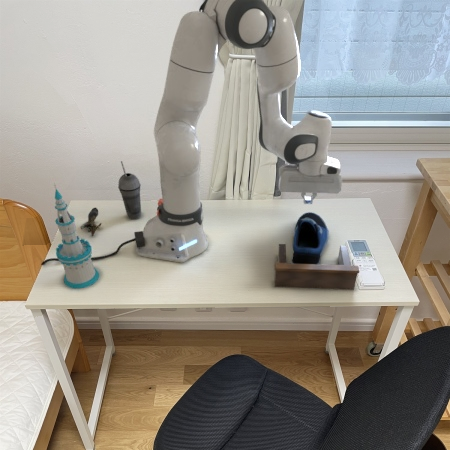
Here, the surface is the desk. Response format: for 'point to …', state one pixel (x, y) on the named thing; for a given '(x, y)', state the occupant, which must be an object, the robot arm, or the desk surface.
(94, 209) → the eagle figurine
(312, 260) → the shoe
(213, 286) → the desk surface
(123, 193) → the beverage cup
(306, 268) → the wooden u-shaped bracket
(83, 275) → the model tower
